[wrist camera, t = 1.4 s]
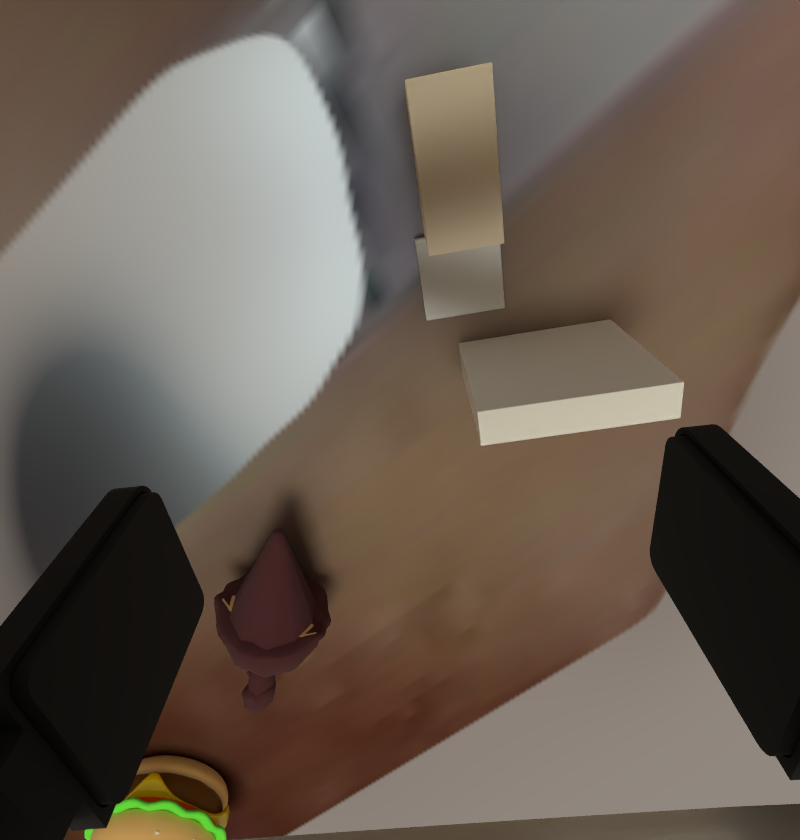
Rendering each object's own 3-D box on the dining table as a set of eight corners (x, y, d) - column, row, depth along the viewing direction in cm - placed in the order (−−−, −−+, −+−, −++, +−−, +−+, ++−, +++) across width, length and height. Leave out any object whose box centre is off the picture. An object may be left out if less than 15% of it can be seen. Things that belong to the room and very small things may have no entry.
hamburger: (159, 727, 44) (109, 848, 37) (267, 782, 48) (242, 901, 41) (86, 779, 48) (27, 897, 41) (192, 826, 52) (156, 942, 45)
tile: (458, 343, 28) (477, 411, 20) (610, 319, 27) (684, 381, 20) (461, 372, 28) (481, 448, 21) (609, 350, 28) (679, 421, 21)
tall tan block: (393, 94, 22) (390, 82, 18) (485, 75, 22) (506, 58, 17) (426, 317, 27) (430, 351, 22) (502, 304, 26) (522, 337, 22)
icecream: (180, 555, 26) (194, 706, 34) (313, 603, 25) (296, 747, 33) (249, 476, 32) (247, 621, 40) (360, 512, 31) (335, 654, 39)
